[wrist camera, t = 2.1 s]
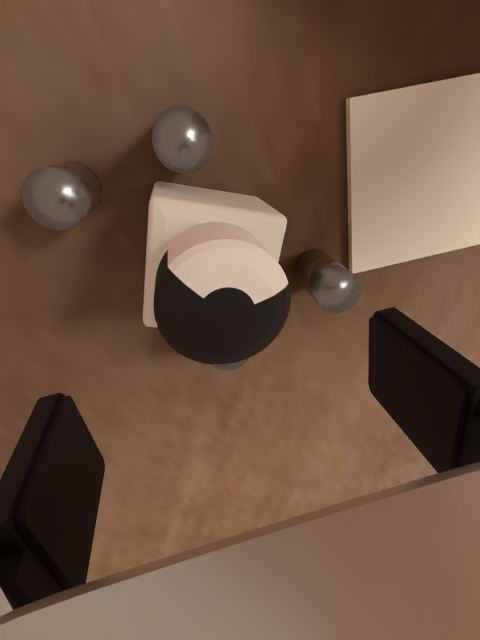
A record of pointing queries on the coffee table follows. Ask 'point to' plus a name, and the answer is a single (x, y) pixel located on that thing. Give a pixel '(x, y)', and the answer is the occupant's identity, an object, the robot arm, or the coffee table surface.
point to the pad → (413, 172)
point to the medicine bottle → (214, 272)
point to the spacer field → (182, 157)
